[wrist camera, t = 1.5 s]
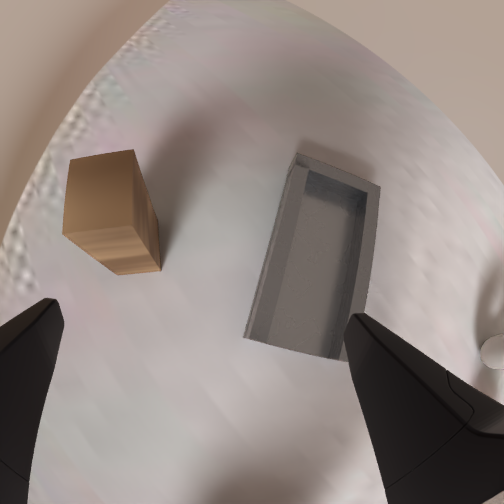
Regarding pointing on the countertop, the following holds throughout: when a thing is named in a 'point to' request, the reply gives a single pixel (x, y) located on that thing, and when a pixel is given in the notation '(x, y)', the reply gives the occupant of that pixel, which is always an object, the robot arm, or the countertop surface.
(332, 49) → the countertop surface
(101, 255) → the brown wooden block
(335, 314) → the grey tray
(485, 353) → the donut
